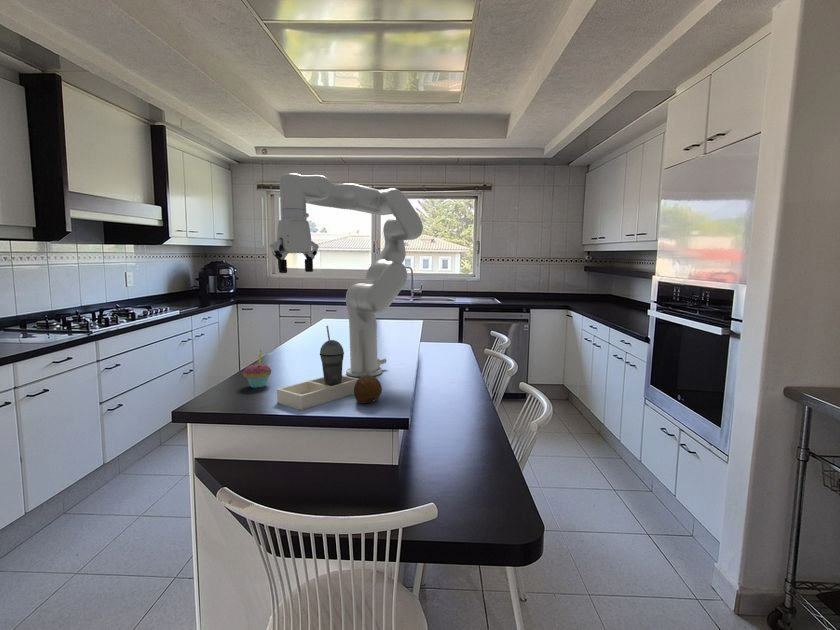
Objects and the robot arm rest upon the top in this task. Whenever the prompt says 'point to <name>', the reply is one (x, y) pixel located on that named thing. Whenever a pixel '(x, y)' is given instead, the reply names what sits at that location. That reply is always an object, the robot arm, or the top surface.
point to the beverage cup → (332, 361)
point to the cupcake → (257, 374)
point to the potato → (367, 389)
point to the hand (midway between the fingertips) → (296, 272)
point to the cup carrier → (314, 392)
